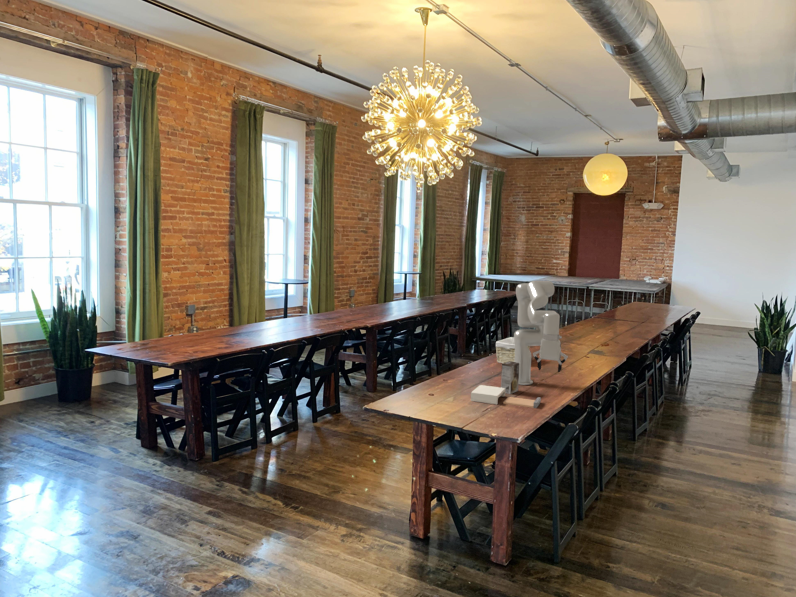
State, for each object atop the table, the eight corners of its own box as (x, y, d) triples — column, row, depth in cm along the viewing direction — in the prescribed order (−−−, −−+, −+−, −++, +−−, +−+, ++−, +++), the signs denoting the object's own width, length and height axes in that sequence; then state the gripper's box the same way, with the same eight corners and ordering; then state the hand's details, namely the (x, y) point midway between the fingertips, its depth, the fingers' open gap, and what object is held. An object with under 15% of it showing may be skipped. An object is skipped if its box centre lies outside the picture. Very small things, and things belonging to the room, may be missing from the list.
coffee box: (508, 388, 329) (509, 360, 327) (518, 391, 325) (519, 362, 323) (500, 392, 322) (501, 363, 320) (510, 394, 318) (511, 365, 316)
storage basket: (515, 366, 386) (516, 344, 384) (493, 362, 395) (494, 341, 394) (530, 360, 405) (531, 339, 403) (509, 357, 415) (510, 336, 413)
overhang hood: (479, 392, 319) (480, 384, 319) (504, 396, 314) (505, 388, 313) (470, 400, 304) (471, 392, 303) (497, 404, 298) (497, 395, 298)
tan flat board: (508, 398, 310) (508, 393, 310) (540, 403, 303) (540, 397, 303) (503, 404, 300) (503, 398, 300) (536, 408, 293) (536, 403, 293)
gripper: (569, 337, 292) (568, 371, 294) (535, 334, 299) (533, 367, 301) (567, 340, 285) (565, 374, 287) (532, 336, 292) (530, 370, 294)
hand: (549, 370), depth 294 cm, fingers open, 9 cm apart
